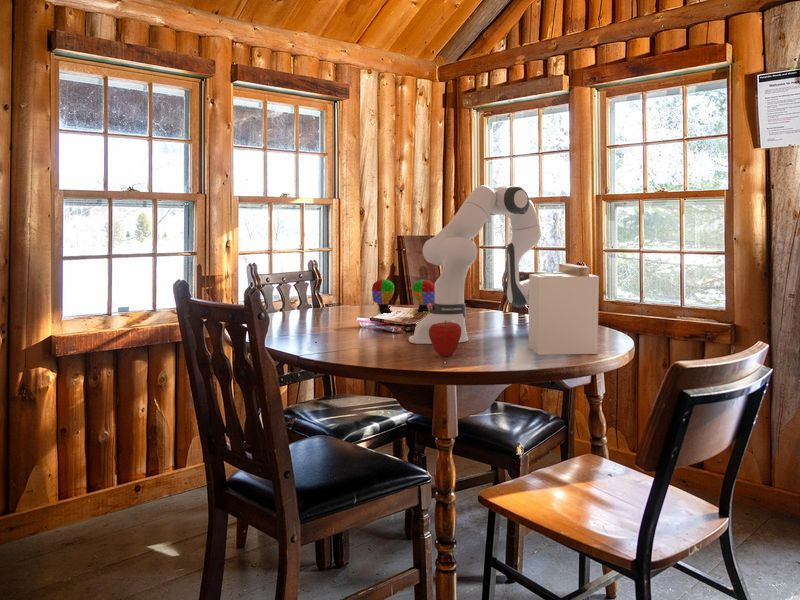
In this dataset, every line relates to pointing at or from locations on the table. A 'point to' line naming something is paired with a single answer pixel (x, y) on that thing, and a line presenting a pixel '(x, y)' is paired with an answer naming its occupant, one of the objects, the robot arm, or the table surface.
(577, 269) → the tan rectangular block
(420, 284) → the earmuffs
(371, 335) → the table surface
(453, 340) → the apple
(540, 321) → the white cardboard box
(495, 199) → the robot arm
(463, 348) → the table surface
